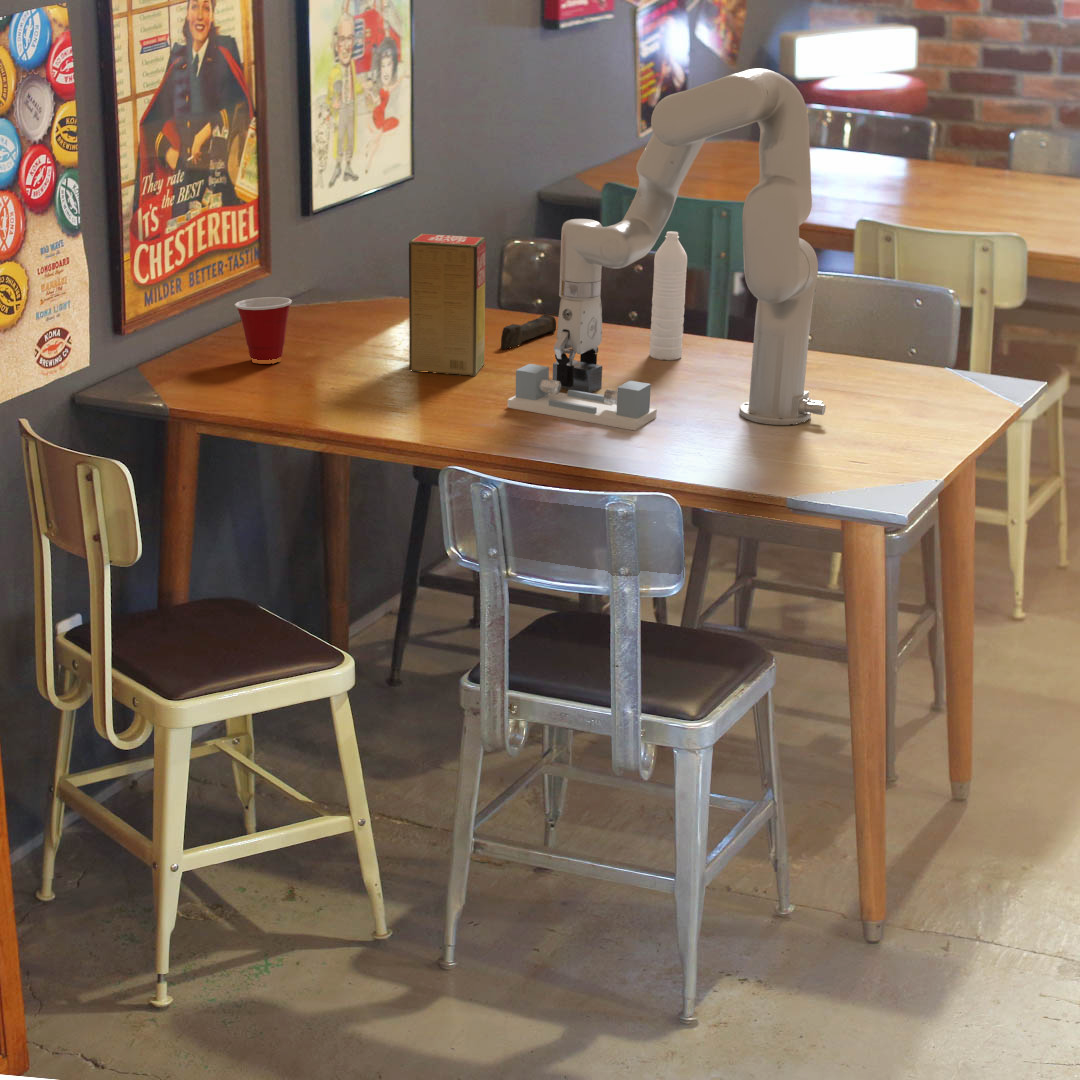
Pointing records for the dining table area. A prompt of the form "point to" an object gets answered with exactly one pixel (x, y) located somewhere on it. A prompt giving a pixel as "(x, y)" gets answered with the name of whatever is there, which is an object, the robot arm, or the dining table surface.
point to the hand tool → (527, 331)
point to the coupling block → (583, 376)
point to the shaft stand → (582, 400)
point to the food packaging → (447, 304)
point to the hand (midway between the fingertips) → (576, 379)
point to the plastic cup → (264, 325)
